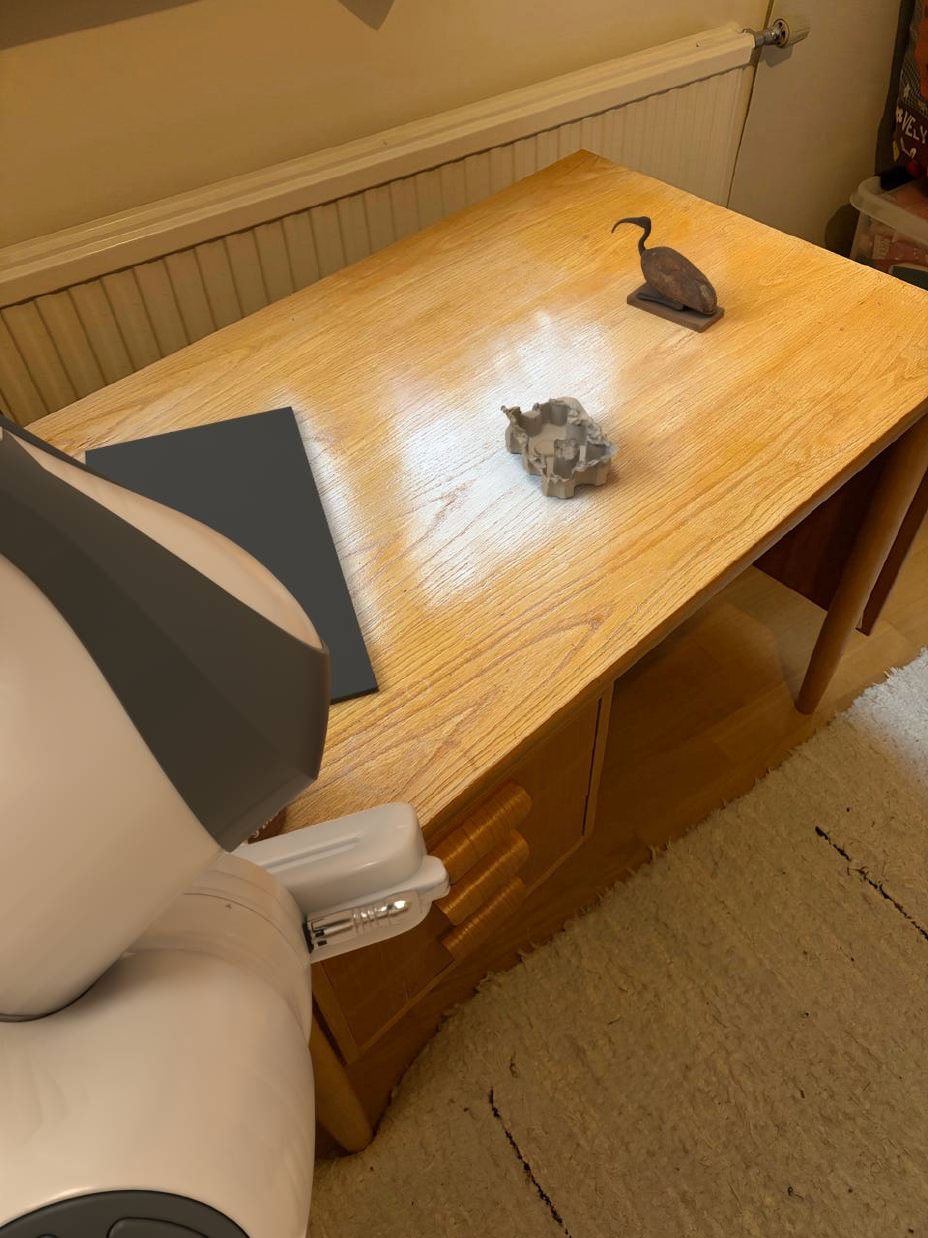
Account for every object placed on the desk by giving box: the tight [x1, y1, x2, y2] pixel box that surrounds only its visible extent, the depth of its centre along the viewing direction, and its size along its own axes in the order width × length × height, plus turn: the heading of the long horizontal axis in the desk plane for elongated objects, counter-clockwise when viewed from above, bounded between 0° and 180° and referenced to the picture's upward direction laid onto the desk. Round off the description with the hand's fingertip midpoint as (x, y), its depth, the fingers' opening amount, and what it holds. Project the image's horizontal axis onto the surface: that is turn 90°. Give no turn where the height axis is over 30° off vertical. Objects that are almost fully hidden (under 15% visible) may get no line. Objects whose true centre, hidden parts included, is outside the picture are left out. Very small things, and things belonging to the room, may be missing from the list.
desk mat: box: [84, 405, 380, 705], centre depth 74 cm, size 20×36×1 cm, turn 17°
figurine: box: [610, 215, 726, 333], centre depth 94 cm, size 14×4×9 cm, turn 48°
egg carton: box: [500, 396, 621, 499], centre depth 79 cm, size 11×8×4 cm
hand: (222, 857), depth 46 cm, fingers closed
